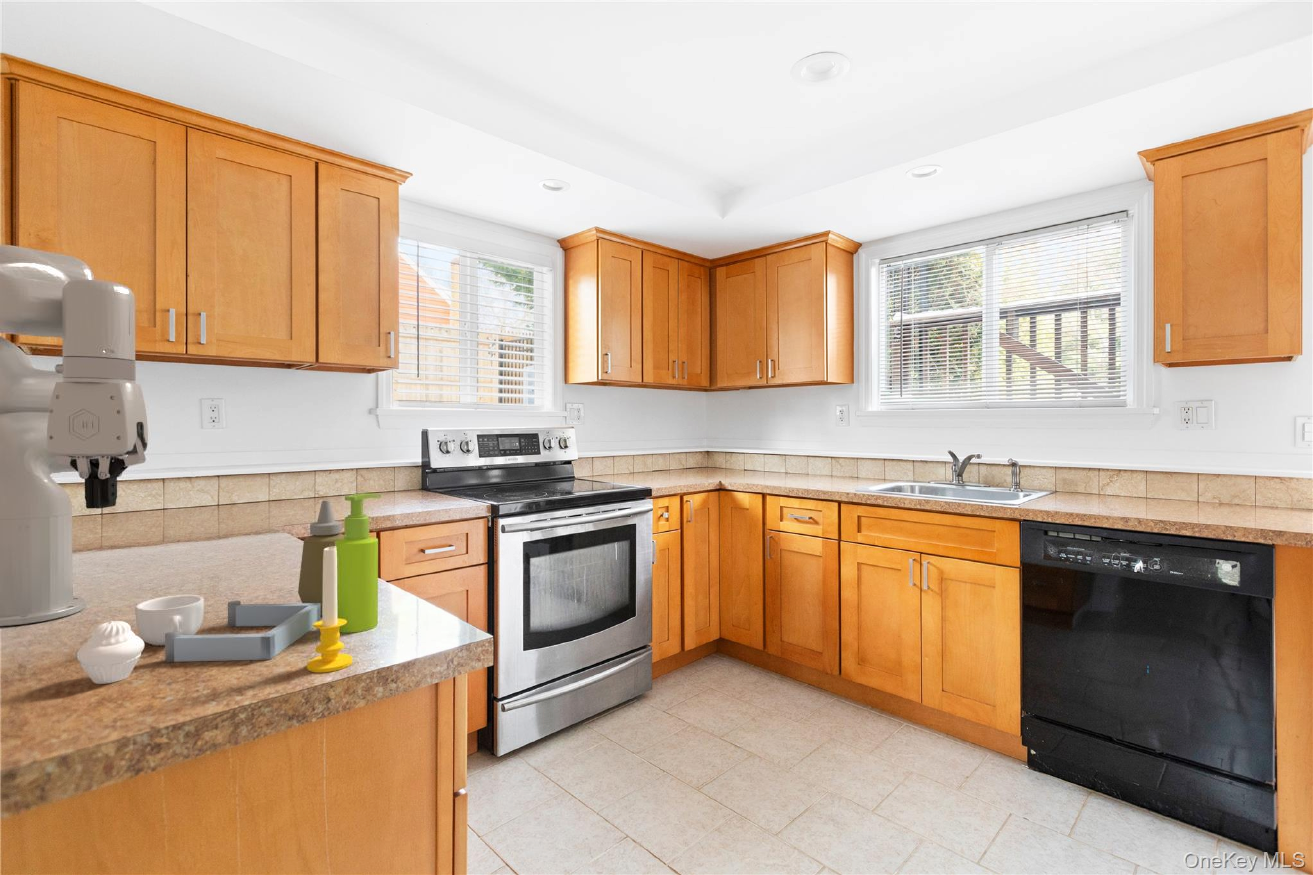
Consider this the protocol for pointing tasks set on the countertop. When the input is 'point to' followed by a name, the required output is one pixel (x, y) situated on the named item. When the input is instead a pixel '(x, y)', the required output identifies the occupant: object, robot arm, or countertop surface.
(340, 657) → the candle
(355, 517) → the soap dispenser
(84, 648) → the muffin
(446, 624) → the countertop surface
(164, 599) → the teacup
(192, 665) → the countertop surface
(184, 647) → the bay
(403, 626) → the countertop surface
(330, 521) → the squeeze bottle
